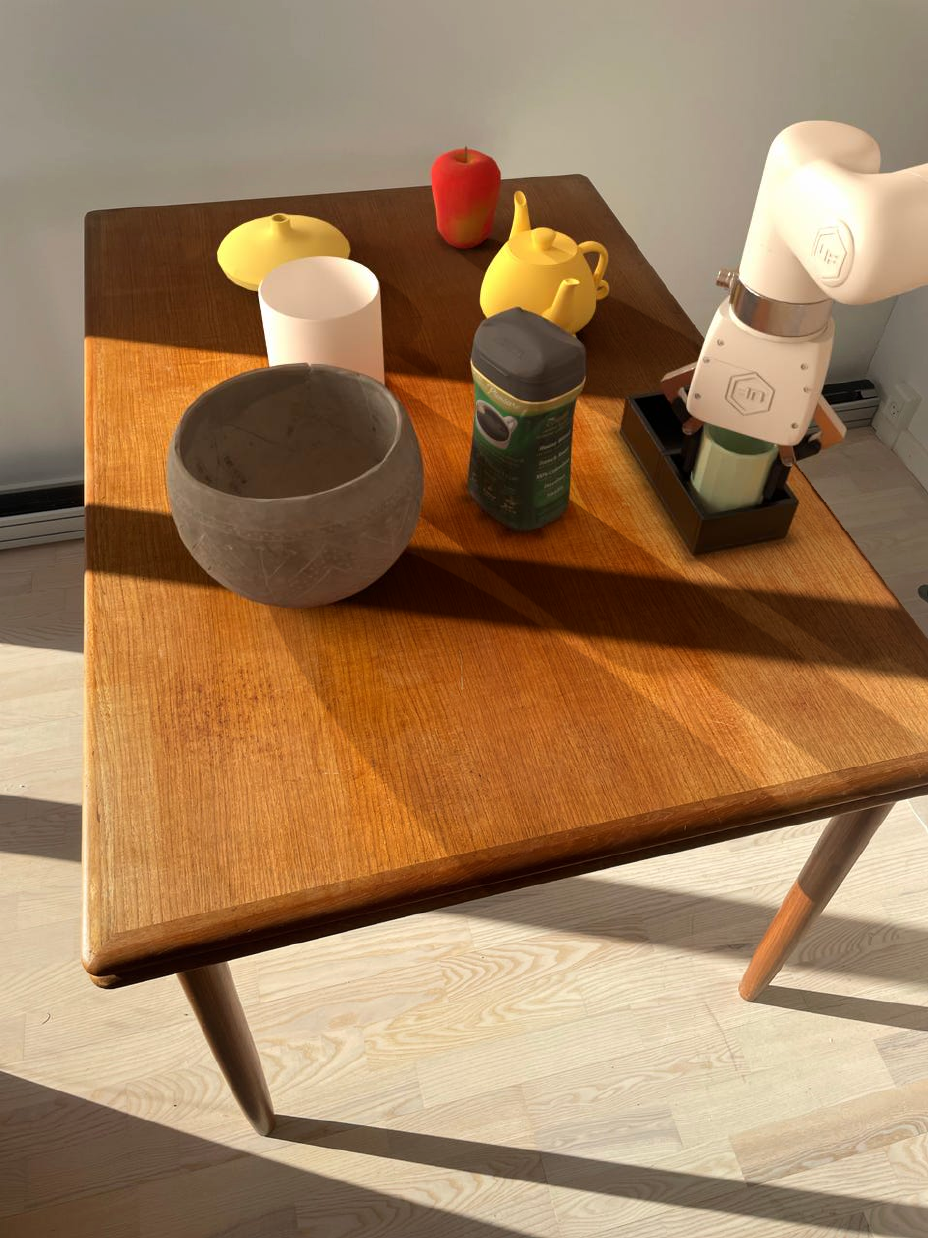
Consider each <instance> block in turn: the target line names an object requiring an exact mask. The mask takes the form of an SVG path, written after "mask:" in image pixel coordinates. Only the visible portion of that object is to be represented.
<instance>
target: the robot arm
mask: <svg viewBox="0 0 928 1238" xmlns="http://www.w3.org/2000/svg"><path fill="white" fill-rule="evenodd" d="M880 150H881V149H880V147H879V144H878V143H877V141H876V140H875V139H874V138H873V137H872V136H871V135H870V134H868V132H866V131H864V130H862V129H860V128H858V127H856V126H853V125H851V124H846V123H844V122H840V121H839V122H838V121H832V120H806V121H800V122H796V123H794V124H791V125H790V126H787V127H786V128H784V129H782V131H780V132H779V134H777V135H776V137H775V138H774V140H773V141H772V143H771V145H770V147H769V151H768V154H767V156H766V161H765V164H764V169H763V173H762V177H761V181H760V184H759V189H758V192H757V197H756V200H755V205H754V209H753V213H752V215H751V216H752V217H751V221H750V224H749V230H748V232H747V237H746V239H745V245H744V248H743V252H742V257H741V261H740V265H738V266H737V267H736V269H735V268H731V269H727V268H725V267H720V268H721V269H720V270H719V272H718V275H717V277H716V283H715V284H716V286H717V287H721V288H724V290H725V291H728V296H727V297H726V298H725V299H724V300H723V301H722V302H721V303H720V305H719V306H718V308H717V310H716V312H715V314H714V316H713V318H712V321H711V323H710V325H709V328H708V330H707V332H706V336H705V339H704V341H703V344H702V347H701V350H700V354H699V357H698V360H696V361H695V362H691V363H689V364H687V365H684V366H682V367H680V368H677V369H675V370H673V371H669V372H668V373H665V374H664V376H663V377H662V379H661V380H660V382H659V388H660V389H661V390H662V391H663V393H664V394H665V396H666V398H667V399H668V401H670V403H671V408H672V410H673V412H674V413H675V414H676V416H677V417H678V419H679V420H680V422H681V423H682V425H683V426H682V431H683V432H684V433H685V437H684V441H683V445H682V449H681V453H680V456H683V457H686V458H685V463H684V467H683V471H685V472H689V471H690V472H691V471H692V469H693V465H694V461H695V457H696V454H697V450H698V446H699V442H700V438H701V433H702V429H703V425H704V424H705V422H706V423H709V424H712V425H715V426H718V427H721V428H725V429H728V430H731V431H734V432H737V433H740V434H744V435H747V436H750V437H753V438H757V439H760V440H763V441H767V442H770V443H773V444H777V445H778V450H779V454H778V456H777V458H776V459H775V462H774V464H773V466H772V469H771V472H770V475H769V478H768V481H767V484H766V487H765V490H764V493H763V496H765V498H767V499H771V496H772V494H773V492H774V490H775V488H776V487H778V488H781V489H783V488H784V486H785V484H787V481H788V479H789V475H790V473H791V470H792V468H793V466H795V465H796V463H798V462H799V461H802V460H805V459H807V458H810V457H813V456H816V455H817V454H819V453H820V451H823V450H826V449H830V448H831V447H833V446H835V445H838V444H840V443H842V442H843V441H844V439H845V436H846V434H847V432H848V431H847V429H848V428H847V427H846V425H845V424H844V423H843V422H842V420H841V419H840V417H839V416H838V415H837V413H836V412H835V410H834V409H833V408H832V406H831V405H830V404H829V403H828V401H827V400H826V397H824V395H823V394H822V392H823V388H824V387H825V386H824V385H825V382H826V379H827V374H828V370H829V366H830V361H831V356H832V352H833V346H834V339H835V330H836V329H835V327H836V325H835V320H834V319H833V317H832V316H831V314H832V311H833V308H834V306H835V303H836V302H838V303H840V304H843V305H849V306H865V305H869V304H873V303H877V302H881V301H884V300H886V299H889V298H892V297H896V296H898V295H901V294H904V293H908V292H911V291H914V290H916V289H918V288H922V287H925V286H927V285H928V162H927V163H923V164H920V165H915V166H912V167H908V168H905V169H900V170H897V171H893V172H885V173H883V172H882V173H880V169H881V161H882V155H881V151H880ZM689 385H690V386H691V387H690V390H689V394H688V393H687V392H685V391H684V388H683V387H686V386H689ZM812 421H814V422H815V424H816V425H817V426H818V429H820V431H815V432H812V433H810V434H807V435H806V433H807V431H808V430H809V427H810V425H811V422H812Z"/></svg>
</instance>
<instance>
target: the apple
mask: <svg viewBox="0 0 928 1238" xmlns="http://www.w3.org/2000/svg"><path fill="white" fill-rule="evenodd" d="M430 179H431V190H432V196H433V200H434V208H435V216H436V227H437V231H438V232H439V234H440V235H441V237H442V238H443V239H444V241H445V242H446V243H447V244H449V245H450V246H451V247H454V248H456V249H463V250H467V249H473V248H475V247H477V246H478V245H480V244H481V243H482V242H484V241H485V240H486V239H488V238H489V237H490V235H491V234H492V233H493V229H494V228H493V227H494V221H495V215H496V211H497V205H498V202H499V201H498V200H499V197H500V191H501V180H502V172H501V169H500V168H499V166H498V164H497V162H496V160H495V159H493V157H492V156H489V155H488V154H485V153H483V152H481V151H480V150H479V151H478V150H475V149H471V148H468V146H467V145H466V146H465V147H464V148H458V149H453V150H451V151H447V152H445V153H444V152H443V153H441V154H440V155H439V156H437V158H436V159H435V161H434V163H433V165H432V166H431V168H430Z"/></svg>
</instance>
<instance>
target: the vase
mask: <svg viewBox="0 0 928 1238" xmlns="http://www.w3.org/2000/svg"><path fill="white" fill-rule="evenodd" d="M350 246H351V245H350V242H349V240H348V238H347V237H345V235H344V234H343V233H342V232H341V231H340V230H339V229H338V228H337V227H336V226H333V224H331V223H329V222H327V221H325V220H321V219H319V218H317V217H311V216H306V215H301V214H300V215H297V214H286V213H283V212H282V213H281V212H280V213H275V214H272V215H270V216H264V217H260V218H259V217H258V218H255V219H253V220H250V221H247V222H244V223H243V224H240V225H239V226H237V227H235V228H234V229H232V230H231V231H230V232H229V233H228V234H226V236H225V237H224V238H223V240H222V241H221V243H220V245H219V247H218V249H217V252H216V253H217V262H218V264H219V266H220V267H221V269H222V271H223V273H224V274H225V276H226V277H227V278H228V279H229V280H231V282H233V283H234V284H235V285H237V286H240V287H243V288H245V289H247V290H250V291H254V292H258V293H259V287H260V284H261V282H262V280H263V279H264V278H265V277H266V275H267V274H268V273H270V272H271V271H272V270H273V269H275V268H277V267H278V266H280V265H282V264H284V263H287V262H290V261H293V260H297V259H301V258H307V257H316V256H329V257H338V258H343V259H348V260H349V256H350V253H351V247H350Z"/></svg>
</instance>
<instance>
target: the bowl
mask: <svg viewBox="0 0 928 1238" xmlns="http://www.w3.org/2000/svg"><path fill="white" fill-rule="evenodd" d="M423 461H424V460H423V453H422V450H421V447H420V443H419V439H418V437H417V434H416V431H415V428H414V425H413V423H412V419H411V417H410V415H409V413H408V411H407V409H406V407H405V405H404V404H403V402H402V401H401V400H400V399H399V398H398V397H397V396H396V395H395V394H394V393H393V392H392V391H391V390H390V389H389V388H388V387H387V386H384V385H383V384H382V383H381V382H379V381H377V380H375V379H373V378H372V377H370V376H367V375H365V374H362V373H360V374H359V373H358V372H355V371H351V370H348V369H344V368H340V367H335V366H331V365H326V364H311V365H310V366H309V364H308V363H293V364H282V365H276V366H270V365H269V366H264V367H258V368H254V369H250V370H247V371H243V372H241V373H239V374H237V375H234V376H232V377H229V378H227V379H225V380H223V381H221V382H220V383H218V384H216V385H214V386H212V387H211V388H209V389H207V390H206V391H203V393H201V394H200V395H199V396H198V397H197V398H195V400H194V401H193V402H192V403H191V404H190V405H189V406H188V407H187V408H186V409H185V410H184V411H183V413H182V415H181V417H180V419H179V421H178V423H177V425H176V427H175V428H174V430H173V433H172V437H171V439H170V442H169V446H168V452H167V459H166V488H167V496H168V501H169V506H170V510H171V515H172V519H173V521H174V523H175V526H176V529H177V531H178V534H179V537H180V539H181V541H182V543H183V544H184V546H185V548H186V549H187V550H188V551H189V553H190V554H191V556H192V557H193V559H194V560H195V561H196V562H197V564H198V565H199V566H201V568H202V569H203V570H204V571H205V572H206V573H207V574H208V575H209V576H210V577H211V578H212V579H214V581H216V582H218V583H219V584H220V585H222V586H223V587H224V588H226V589H227V590H228V591H230V592H232V593H233V594H236V595H238V596H240V597H242V598H244V599H247V600H249V601H251V602H254V603H259V604H262V605H265V606H270V607H278V608H284V609H307V608H309V609H310V608H314V607H320V606H325V605H330V604H332V603H335V602H338V601H341V600H343V599H346V598H348V597H351V596H354V595H355V594H357V593H360V592H361V591H363V590H365V589H366V588H368V587H369V586H370V585H372V584H374V583H375V582H376V581H377V580H378V579H379V578H381V577H382V576H383V575H384V574H385V573H387V571H388V570H390V568H392V566H393V565H394V564H395V562H396V561H398V559H399V558H400V556H401V555H403V553H404V551H405V550H406V549H407V547H408V545H409V544H410V541H411V539H412V537H413V536H414V534H415V532H416V528H417V526H418V524H419V521H420V518H421V513H422V505H423V500H424V491H425V472H424V471H425V470H424V462H423Z"/></svg>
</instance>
